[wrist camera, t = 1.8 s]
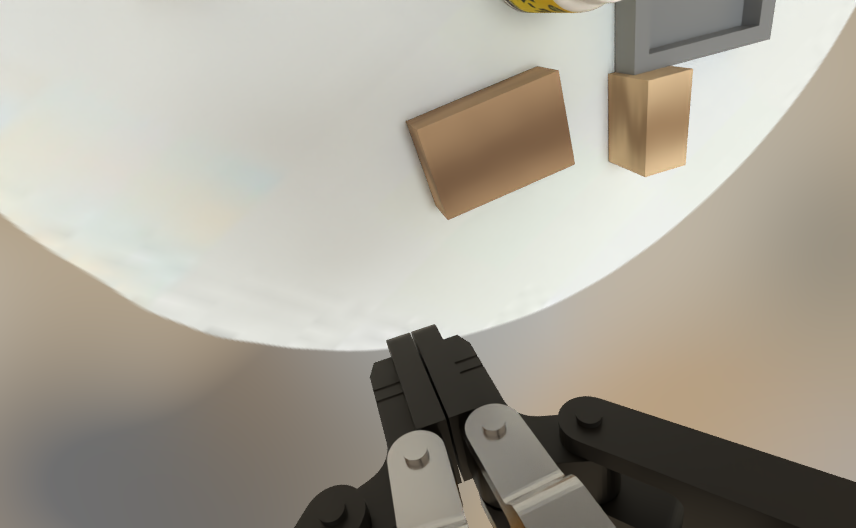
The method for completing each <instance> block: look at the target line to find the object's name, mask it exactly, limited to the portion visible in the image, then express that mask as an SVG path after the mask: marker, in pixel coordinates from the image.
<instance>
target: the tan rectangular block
mask: <svg viewBox="0 0 856 528" xmlns="http://www.w3.org/2000/svg"><path fill="white" fill-rule="evenodd" d="M692 74H693V69H691V68H682V67H674V66H667V67H664V68H660V69H656V70H652V71H649V72H645V73H641V74H637V75H629V74H623V73H617V72H614V73H610V74H608V118H609V162H611V163H614V164H616V165H618V166H621V167H623V168H625V169H628V170H630V171H632V172H635V173H637V174H639V175H641V176H644V177H647V176H650V175H654V174H657V173H660V172H663V171H667V170H670V169H673V168H677V167H680V166H683V165H685V164H686V151H687V138H688V125H689V112H690V100H691V87H692Z"/></svg>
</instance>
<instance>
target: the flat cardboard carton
mask: <svg viewBox="0 0 856 528" xmlns="http://www.w3.org/2000/svg"><path fill="white" fill-rule="evenodd" d="M406 123H407V126H408V129H409V131H410V134H411V137H412V140H413V143H414V146H415V148H416V151H417V154H418V157H419V160H420V162H421V165H422V168H423V171H424V174H425V177H426V179H427V182H428V185H429V188H430V191H431V193H432V196H433V199H434V202H435V205H436V207H437V208H438V209H439V210H440V211H441V213H442V214H443V215H444V216H445V217H446V219H447V220H449V219H452V218H454V217H456V216H458V215H461V214H463V213H465V212H467V211H470V210H472V209H474V208H477V207H479V206H481V205H483V204H486V203H488V202H490V201H493V200H495V199H497V198H499V197H502V196H504V195H506V194H508V193H511V192H513V191H515V190H518V189H520V188H522V187H524V186H527V185H529V184H531V183H533V182H536V181H538V180H540V179H543V178H545V177H547V176H549V175H552V174H554V173H556V172H558V171H561V170H563V169H565V168H568V167H570V166H572V165H574V164H575V162H574V156H573V150H572V145H571V139H570V133H569V127H568V122H567V116H566V110H565V105H564V99H563V93H562V88H561V82H560V76H559V70H554V69H549V68H544V67H538V66H537V67H534V68H532V69H530V70H527V71H525V72H523V73H520V74H518V75H515V76H513V77H511V78H508V79H506V80H503V81H501V82H499V83H496V84H494V85H491V86H489V87H487V88H484V89H482V90H480V91H477V92H475V93H472V94H470V95H468V96H465V97H463V98H460V99H458V100H456V101H453V102H451V103H448V104H446V105H444V106H441V107H439V108H437V109H434V110H432V111H429V112H427V113H425V114H422V115H420V116H417V117H415V118H413V119H410V120H408V121H406Z"/></svg>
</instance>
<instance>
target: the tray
mask: <svg viewBox="0 0 856 528" xmlns="http://www.w3.org/2000/svg"><path fill="white" fill-rule="evenodd" d="M775 2H776V0H621V1H618V2H615V72H617V73H623V74H629V75H637V74H641V73H645V72H649V71H652V70H656V69H660V68H664V67H667V66H671V65H675V64H678V63H682V62H686V61H690V60H693V59H697V58H701V57H705V56H708V55H712V54H716V53H720V52H723V51H727V50H731V49H735V48H738V47H742V46H746V45H749V44H753V43H757V42H761V41H764V40H768V39H770V35H771V28H772V22H773V15H774V8H775Z"/></svg>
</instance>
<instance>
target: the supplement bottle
mask: <svg viewBox="0 0 856 528" xmlns="http://www.w3.org/2000/svg"><path fill="white" fill-rule="evenodd" d="M504 1H505V2H506V3H507V4H508V5H509V6H511V7H512V8H514V9H516V10H518V11H521V12H528V13H581V12H587V11H591V10H594V9H597V8H599V7H601V6H602V5H604V4H606V3H614V2H618V1H621V0H504Z"/></svg>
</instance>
